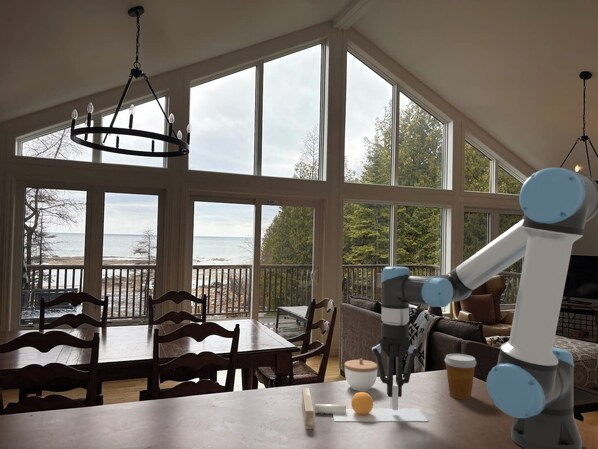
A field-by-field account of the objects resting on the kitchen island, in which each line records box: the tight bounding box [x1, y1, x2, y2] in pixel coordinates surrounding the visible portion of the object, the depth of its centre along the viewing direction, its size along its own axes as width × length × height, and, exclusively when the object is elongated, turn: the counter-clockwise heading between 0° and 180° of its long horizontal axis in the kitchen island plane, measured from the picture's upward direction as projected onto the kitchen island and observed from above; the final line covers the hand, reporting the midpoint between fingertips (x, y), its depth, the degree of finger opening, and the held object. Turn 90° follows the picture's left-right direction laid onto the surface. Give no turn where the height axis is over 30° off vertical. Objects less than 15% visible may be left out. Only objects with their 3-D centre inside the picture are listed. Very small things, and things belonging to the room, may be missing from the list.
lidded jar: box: [344, 358, 378, 392], centre depth 152 cm, size 11×11×9 cm
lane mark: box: [331, 407, 429, 423], centre depth 128 cm, size 25×9×1 cm, turn 92°
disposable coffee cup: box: [444, 353, 478, 400], centre depth 145 cm, size 10×10×12 cm
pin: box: [314, 403, 347, 415], centre depth 129 cm, size 2×2×8 cm
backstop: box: [301, 387, 314, 430], centre depth 127 cm, size 2×18×4 cm, turn 3°
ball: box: [350, 391, 374, 415], centre depth 129 cm, size 6×6×6 cm
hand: (394, 408), depth 128 cm, fingers closed
